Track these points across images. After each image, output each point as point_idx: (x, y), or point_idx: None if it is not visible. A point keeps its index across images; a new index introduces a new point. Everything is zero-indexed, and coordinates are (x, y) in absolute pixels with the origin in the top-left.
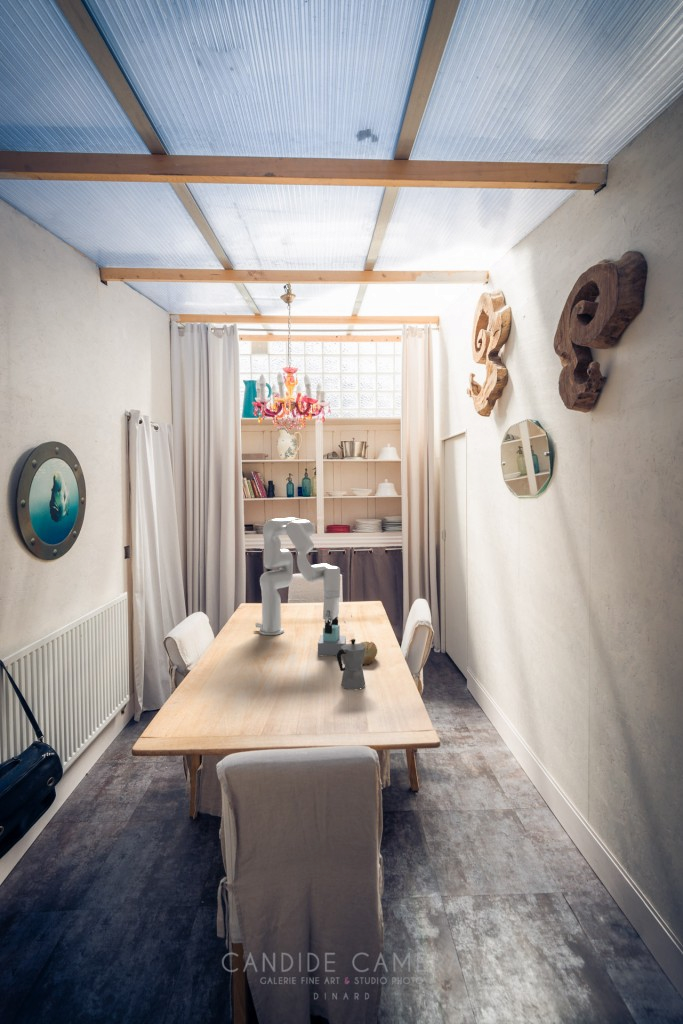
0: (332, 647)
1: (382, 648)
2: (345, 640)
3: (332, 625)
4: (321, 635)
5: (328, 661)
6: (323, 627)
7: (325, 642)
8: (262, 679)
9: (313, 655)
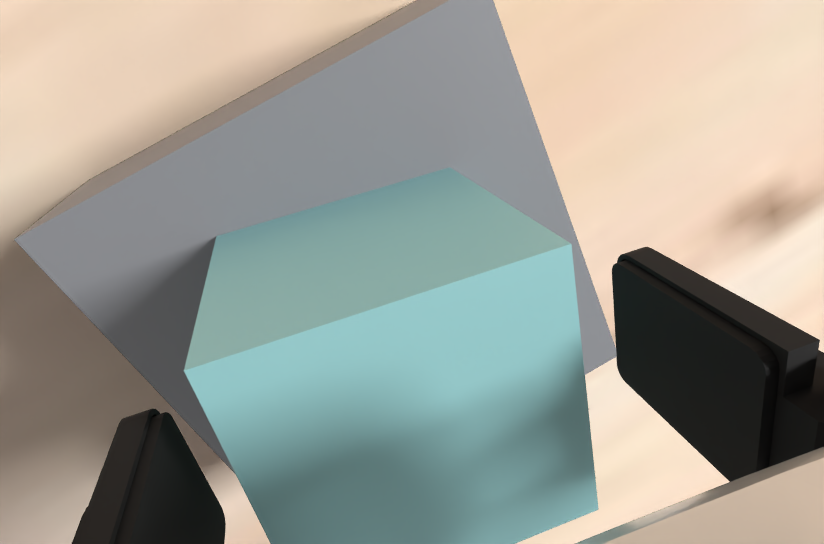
0: None
1: (626, 522)
2: None
3: (519, 421)
4: (488, 12)
5: (11, 407)
6: (219, 361)
7: (162, 321)
8: None
9: (48, 118)
